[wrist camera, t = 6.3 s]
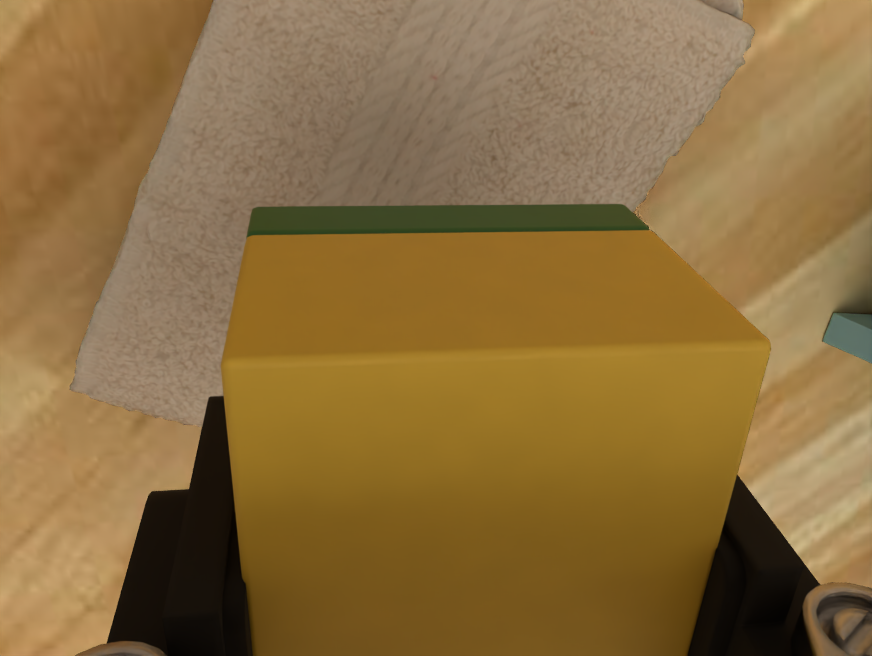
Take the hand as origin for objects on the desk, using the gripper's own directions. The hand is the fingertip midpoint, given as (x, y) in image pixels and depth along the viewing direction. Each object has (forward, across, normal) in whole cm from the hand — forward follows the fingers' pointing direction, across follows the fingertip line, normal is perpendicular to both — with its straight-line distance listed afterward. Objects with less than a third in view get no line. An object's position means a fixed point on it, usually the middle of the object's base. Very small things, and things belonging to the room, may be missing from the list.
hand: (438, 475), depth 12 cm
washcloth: (+12, 0, -1) cm, 12 cm away
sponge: (+1, 0, 0) cm, 1 cm away
